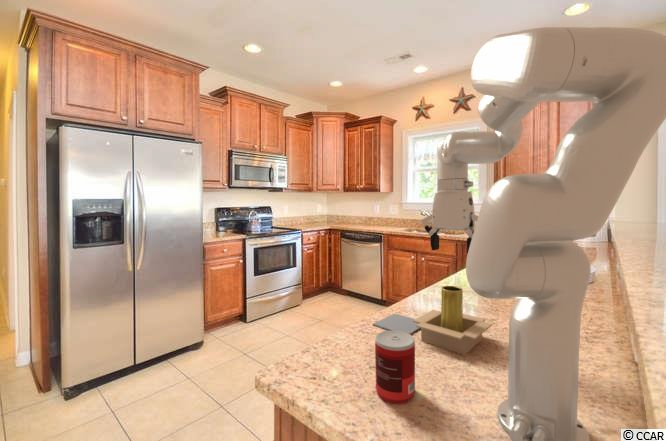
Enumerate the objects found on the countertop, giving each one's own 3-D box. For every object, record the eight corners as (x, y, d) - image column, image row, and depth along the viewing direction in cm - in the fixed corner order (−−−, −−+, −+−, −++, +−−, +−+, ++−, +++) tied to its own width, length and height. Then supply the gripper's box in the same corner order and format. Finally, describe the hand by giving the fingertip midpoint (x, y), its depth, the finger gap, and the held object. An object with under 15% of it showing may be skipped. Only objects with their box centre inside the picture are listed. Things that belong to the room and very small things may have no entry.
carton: (470, 362, 74) (470, 341, 74) (408, 341, 86) (408, 323, 85) (495, 339, 86) (495, 321, 85) (437, 323, 97) (437, 307, 97)
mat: (407, 336, 88) (407, 334, 88) (372, 325, 97) (372, 323, 97) (428, 324, 97) (428, 322, 97) (395, 314, 105) (395, 313, 105)
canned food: (408, 380, 67) (408, 329, 66) (420, 404, 59) (420, 346, 58) (372, 381, 67) (372, 330, 66) (379, 405, 59) (378, 348, 58)
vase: (466, 346, 82) (466, 291, 81) (441, 344, 83) (441, 291, 82) (461, 336, 88) (461, 285, 87) (438, 334, 89) (438, 284, 88)
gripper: (492, 185, 80) (491, 252, 81) (429, 188, 92) (429, 247, 93) (480, 184, 75) (480, 256, 76) (415, 188, 87) (416, 250, 88)
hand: (452, 251), depth 84 cm, fingers open, 9 cm apart
